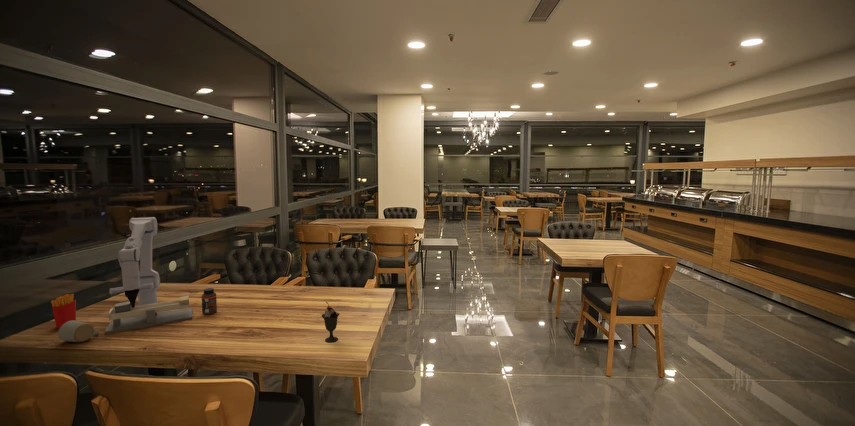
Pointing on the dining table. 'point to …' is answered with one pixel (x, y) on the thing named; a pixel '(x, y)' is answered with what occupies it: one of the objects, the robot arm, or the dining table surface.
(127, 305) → the rider
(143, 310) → the beam
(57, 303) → the french fries
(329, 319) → the sundae
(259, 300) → the dining table surface
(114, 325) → the stand
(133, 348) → the dining table surface
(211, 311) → the supplement bottle
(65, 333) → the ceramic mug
